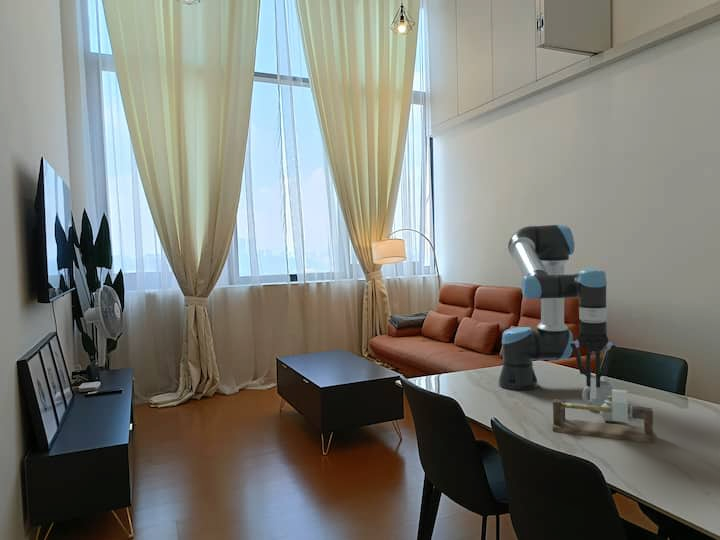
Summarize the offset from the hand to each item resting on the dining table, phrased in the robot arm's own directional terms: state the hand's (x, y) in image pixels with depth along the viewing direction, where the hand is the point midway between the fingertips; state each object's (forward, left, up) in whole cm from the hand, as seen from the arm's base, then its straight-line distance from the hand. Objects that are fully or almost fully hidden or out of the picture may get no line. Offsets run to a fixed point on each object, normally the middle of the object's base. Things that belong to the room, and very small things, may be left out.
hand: (593, 397), depth 153 cm
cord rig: (+1, +1, -10) cm, 10 cm away
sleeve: (+4, +6, -6) cm, 9 cm away
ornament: (-6, +9, -11) cm, 15 cm away
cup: (-18, +13, -11) cm, 25 cm away
